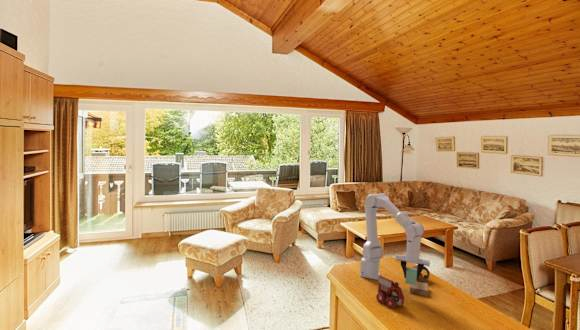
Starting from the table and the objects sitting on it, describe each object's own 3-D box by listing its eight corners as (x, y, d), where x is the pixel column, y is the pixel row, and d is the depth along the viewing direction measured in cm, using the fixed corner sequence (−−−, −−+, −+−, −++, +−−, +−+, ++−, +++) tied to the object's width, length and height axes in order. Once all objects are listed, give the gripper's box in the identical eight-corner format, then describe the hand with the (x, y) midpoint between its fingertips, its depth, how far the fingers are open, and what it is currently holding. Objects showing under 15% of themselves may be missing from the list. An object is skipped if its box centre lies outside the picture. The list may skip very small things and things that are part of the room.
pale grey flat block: (409, 293, 146) (409, 287, 145) (409, 286, 153) (410, 280, 153) (427, 297, 143) (428, 290, 142) (427, 289, 150) (427, 283, 150)
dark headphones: (420, 274, 167) (428, 264, 163) (425, 289, 159) (433, 279, 154) (400, 268, 166) (407, 259, 162) (404, 283, 158) (411, 273, 154)
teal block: (405, 283, 140) (406, 270, 139) (405, 279, 144) (406, 266, 143) (416, 285, 138) (417, 272, 137) (416, 281, 142) (417, 268, 142)
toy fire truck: (397, 312, 129) (399, 288, 128) (372, 299, 138) (374, 277, 138) (406, 306, 133) (408, 283, 132) (381, 294, 143) (383, 273, 142)
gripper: (395, 249, 139) (393, 278, 140) (431, 255, 133) (428, 285, 134) (396, 244, 145) (394, 272, 146) (430, 250, 140) (428, 278, 141)
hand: (411, 278), depth 141 cm, fingers closed on teal block, 4 cm apart
